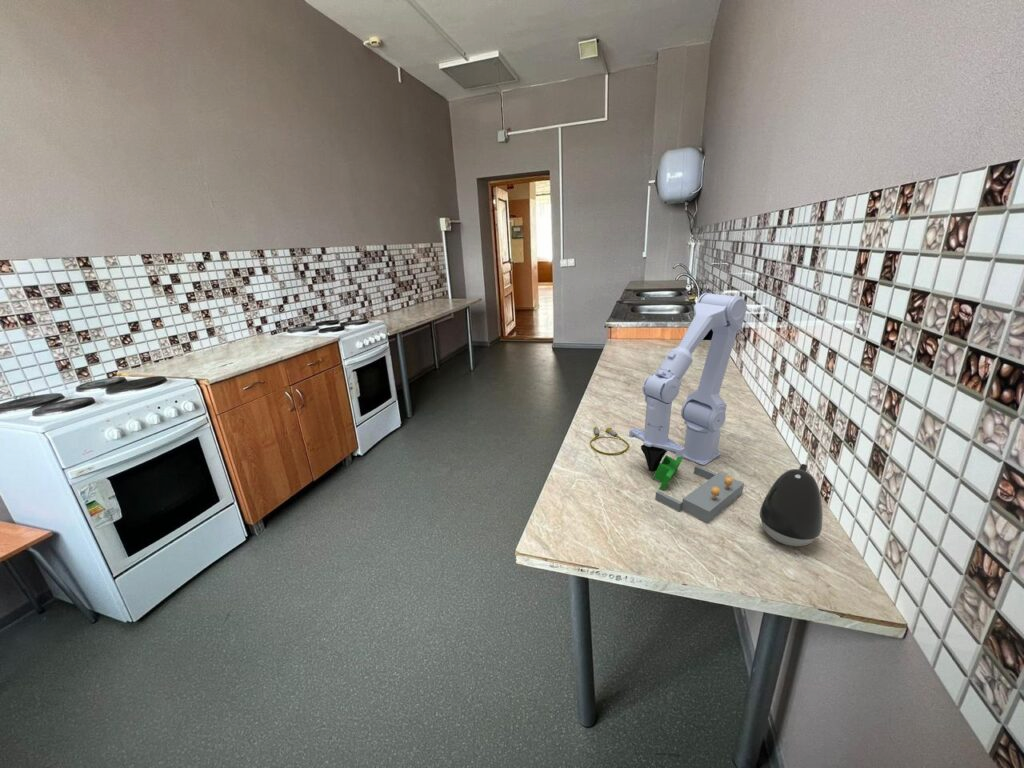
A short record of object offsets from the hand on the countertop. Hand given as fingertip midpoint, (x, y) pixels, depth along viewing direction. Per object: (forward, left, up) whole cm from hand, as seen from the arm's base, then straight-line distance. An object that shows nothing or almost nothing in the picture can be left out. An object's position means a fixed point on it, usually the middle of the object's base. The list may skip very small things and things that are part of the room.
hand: (652, 470), depth 105 cm
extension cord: (-5, -18, -2) cm, 19 cm away
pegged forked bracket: (0, +13, -1) cm, 13 cm away
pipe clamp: (0, +3, -1) cm, 3 cm away
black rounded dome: (0, +31, -1) cm, 31 cm away
